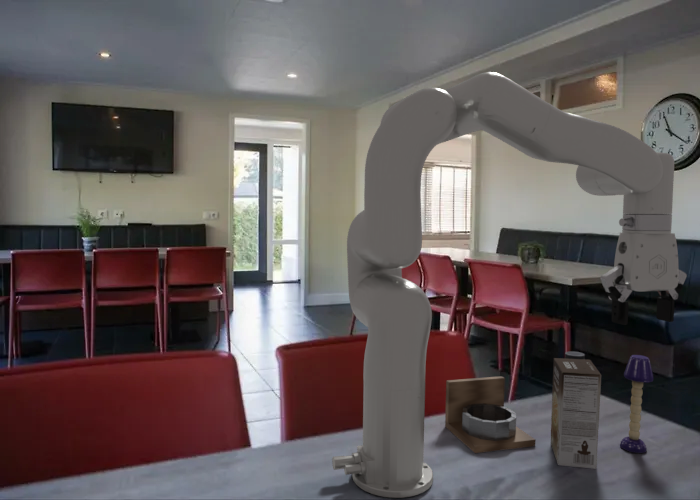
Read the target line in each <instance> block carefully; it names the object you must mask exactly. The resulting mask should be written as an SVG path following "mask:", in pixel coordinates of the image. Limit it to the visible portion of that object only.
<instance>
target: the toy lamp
mask: <svg viewBox="0 0 700 500" xmlns="http://www.w3.org/2000/svg"><path fill="white" fill-rule="evenodd" d="M623 376H624V378H625V379H627V380H629V381H631V385H632V388H631V397H630V402H631V404H630V408H629V411H630V413H629V420H630V421H629V424H628V427H629V430H628V436H626V437H624V438H622V439H621V441H620V443H619V446H620V448H622V449H623V450H625V451H628V452H630V453H636V454H637V453H638V454H641V453H642V454H644V453H646V452H647V450H648V449H647V445H646V443H645V442H644V441H643V440H642V439H641V438H640V437H641V436H640V435H641V432H640V430H641V420H642V415H641V413H642V403H643V399H642V396H643V389H642V388H644V383H651V382H653V381H654V372H653V369H652V364H651V361H650V358H649V357H648V356H645V355H641V354H632V355H631V356H630V357H629V359H628V362H627V364H626V367H625V370H624V372H623Z"/></svg>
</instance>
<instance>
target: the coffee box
mask: <svg viewBox="0 0 700 500" xmlns="http://www.w3.org/2000/svg"><path fill="white" fill-rule="evenodd" d="M601 385H602V374H601V373H600V371H599V370H598V368H597V367H596V366H595V364H594V363H593V361H592V360H591V359H586V358H585V359H565V357H564V358H563V357H562V358H561V357H560V358H559V357H553V369H552V393H551V395H552V396H551V397H552V398H551V419H550V421H551V423H550V444H551V445H550V446H551V448H552V451H553V454H554V457H555V460H556V464H557V465H558V466H561V467H562V466H563V467H564V466H565V467H572V468H586V469H593V470H594V469H596V470H597V465H598V463H597V462H598V446H599V445H598V443H599V442H598V441H599V423H600V406H601V391H602V389H601V387H602V386H601Z"/></svg>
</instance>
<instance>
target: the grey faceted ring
mask: <svg viewBox="0 0 700 500" xmlns="http://www.w3.org/2000/svg"><path fill="white" fill-rule="evenodd" d="M516 427H517V413H516V412H515V411H514V410H513V409H510V408H509V407H506V406H504V407H503V406H499V405H496V404H485V403H480V404H470V405H468V406H466V407H464V408H463V414H462V430H463V431H464V432H466V433H467V434H468V435H470V436H473V437H476V438H479V439H483V440H492V441H500V440H509V439H510V438H512V437H514V436H516Z"/></svg>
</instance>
